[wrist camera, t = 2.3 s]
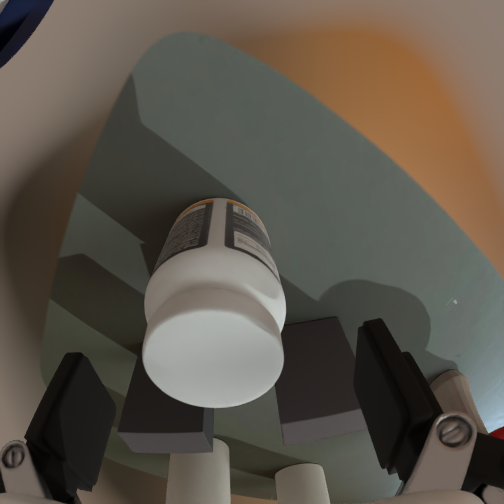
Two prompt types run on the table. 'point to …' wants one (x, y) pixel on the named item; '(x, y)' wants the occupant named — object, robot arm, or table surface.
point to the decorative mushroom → (459, 398)
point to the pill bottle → (215, 308)
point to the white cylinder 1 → (200, 477)
